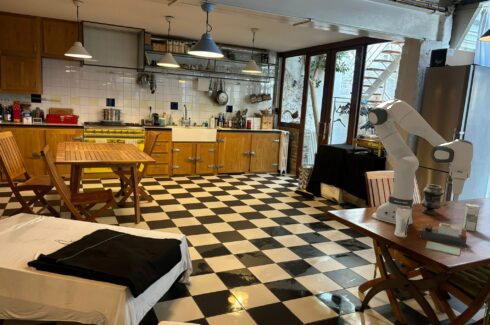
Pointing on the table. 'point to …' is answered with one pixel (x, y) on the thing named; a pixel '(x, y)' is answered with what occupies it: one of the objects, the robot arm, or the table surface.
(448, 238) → the plane body
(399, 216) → the beer glass
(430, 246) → the rubber mat
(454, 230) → the lever cap
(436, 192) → the apothecary jar
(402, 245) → the table surface
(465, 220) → the syrup box
